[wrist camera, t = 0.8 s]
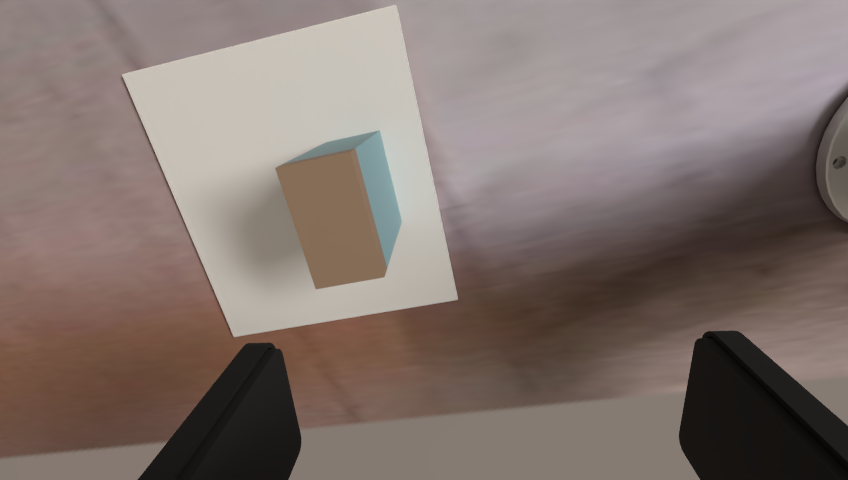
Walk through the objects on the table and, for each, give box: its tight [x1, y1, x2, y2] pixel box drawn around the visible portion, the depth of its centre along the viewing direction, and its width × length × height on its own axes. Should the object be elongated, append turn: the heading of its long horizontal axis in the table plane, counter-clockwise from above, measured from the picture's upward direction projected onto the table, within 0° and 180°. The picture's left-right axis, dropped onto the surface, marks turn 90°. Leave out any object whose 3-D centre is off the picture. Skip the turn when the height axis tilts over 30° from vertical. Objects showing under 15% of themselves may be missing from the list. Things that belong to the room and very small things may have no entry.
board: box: [122, 5, 458, 337], centre depth 32 cm, size 20×22×1 cm
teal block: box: [275, 130, 402, 289], centre depth 27 cm, size 4×7×10 cm, turn 12°
